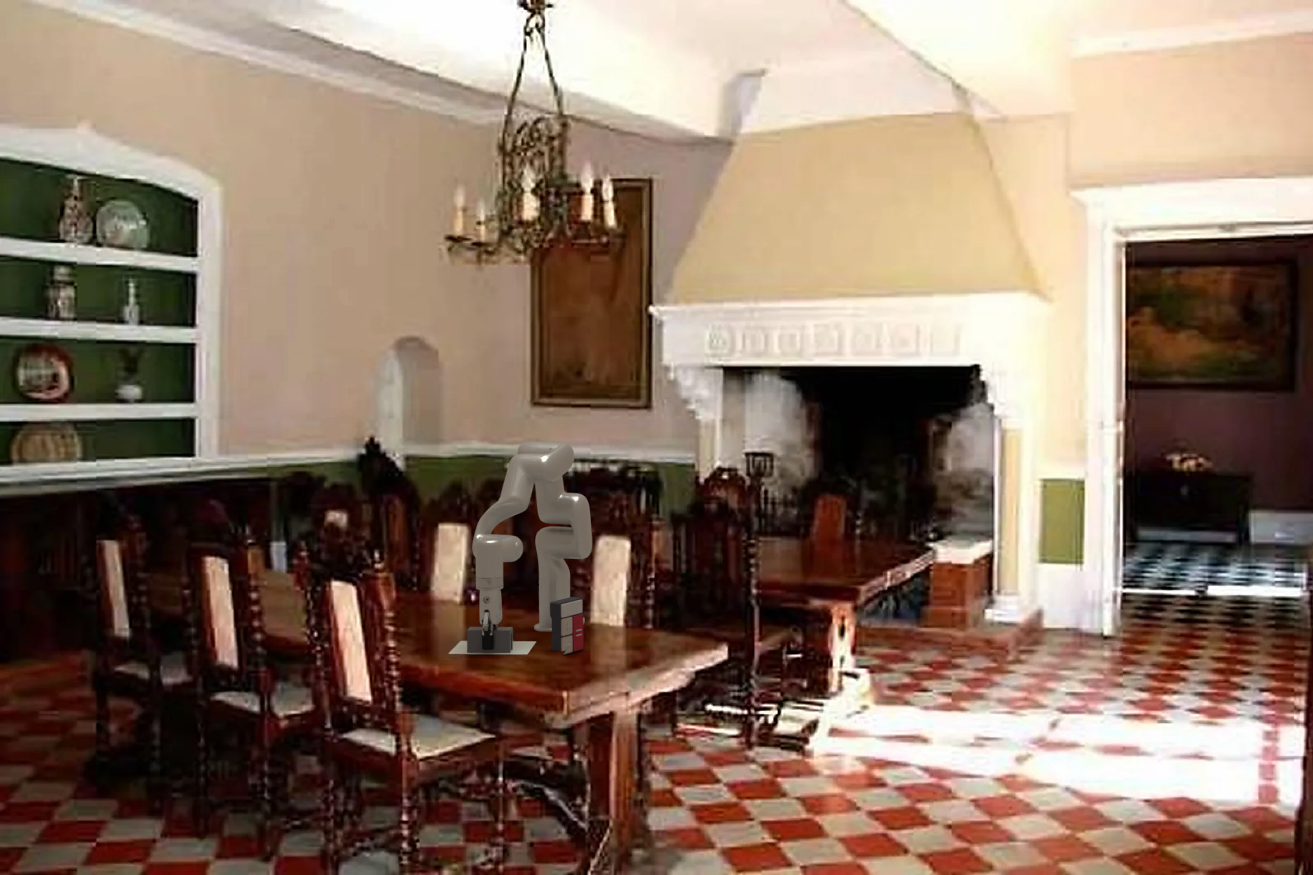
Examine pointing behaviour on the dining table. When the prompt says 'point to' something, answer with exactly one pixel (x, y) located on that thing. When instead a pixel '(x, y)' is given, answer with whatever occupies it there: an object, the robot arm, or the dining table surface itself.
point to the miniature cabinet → (567, 624)
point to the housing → (501, 640)
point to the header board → (518, 648)
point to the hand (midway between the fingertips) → (490, 646)
